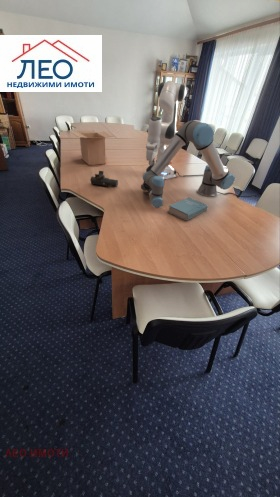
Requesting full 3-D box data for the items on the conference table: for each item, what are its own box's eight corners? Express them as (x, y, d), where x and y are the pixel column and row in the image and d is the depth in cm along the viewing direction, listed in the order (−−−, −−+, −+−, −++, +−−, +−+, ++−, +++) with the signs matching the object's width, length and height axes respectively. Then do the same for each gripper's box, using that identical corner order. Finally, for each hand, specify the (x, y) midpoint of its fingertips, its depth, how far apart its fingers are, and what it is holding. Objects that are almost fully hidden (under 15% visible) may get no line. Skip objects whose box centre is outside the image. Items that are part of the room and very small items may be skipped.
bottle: (147, 190, 180) (149, 160, 166) (155, 192, 178) (158, 162, 164) (142, 193, 175) (145, 162, 161) (151, 195, 172) (154, 164, 158)
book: (187, 203, 164) (188, 197, 161) (206, 211, 155) (207, 205, 152) (167, 212, 150) (168, 205, 147) (187, 221, 142) (188, 214, 139)
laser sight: (115, 189, 177) (115, 177, 171) (88, 185, 180) (87, 173, 174) (118, 185, 185) (118, 173, 179) (93, 181, 188) (92, 169, 182)
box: (116, 165, 229) (116, 136, 213) (83, 168, 214) (80, 137, 198) (102, 154, 259) (101, 128, 243) (71, 156, 244) (68, 129, 228)
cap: (148, 164, 161) (148, 161, 160) (148, 162, 165) (148, 160, 163) (154, 165, 161) (154, 162, 160) (154, 163, 165) (154, 160, 163)
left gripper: (152, 140, 163) (150, 160, 172) (145, 146, 147) (143, 167, 156) (160, 141, 162) (158, 161, 170) (154, 147, 146) (152, 168, 154)
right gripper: (139, 199, 159) (136, 187, 177) (167, 199, 162) (161, 187, 180) (140, 189, 154) (136, 177, 172) (168, 189, 157) (162, 178, 175)
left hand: (151, 164), depth 163 cm, fingers closed on cap, 4 cm apart
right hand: (149, 182), depth 176 cm, fingers closed on bottle, 8 cm apart
